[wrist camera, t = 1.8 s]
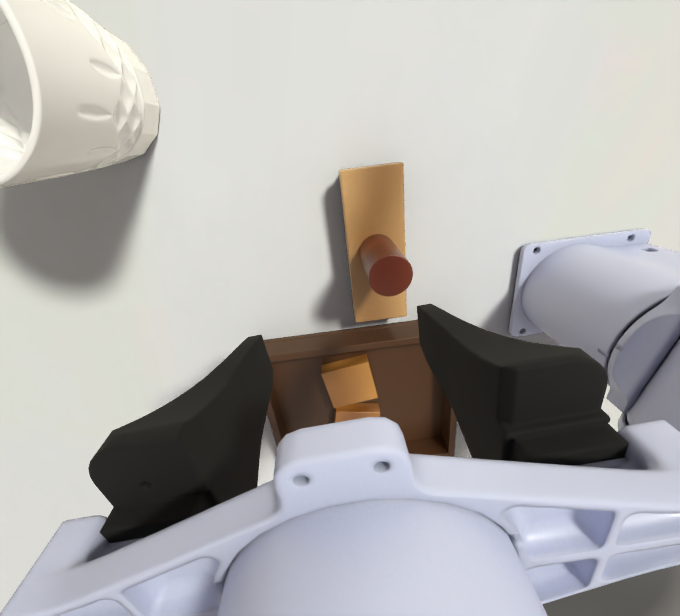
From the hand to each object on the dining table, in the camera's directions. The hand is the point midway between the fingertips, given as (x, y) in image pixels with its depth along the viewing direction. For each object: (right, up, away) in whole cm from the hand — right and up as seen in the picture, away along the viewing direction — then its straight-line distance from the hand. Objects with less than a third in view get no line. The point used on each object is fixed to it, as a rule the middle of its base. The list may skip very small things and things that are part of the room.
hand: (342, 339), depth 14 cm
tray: (+2, -7, +15) cm, 16 cm away
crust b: (+1, -9, +15) cm, 18 cm away
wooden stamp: (+2, +6, +8) cm, 11 cm away
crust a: (+1, -5, +13) cm, 14 cm away
